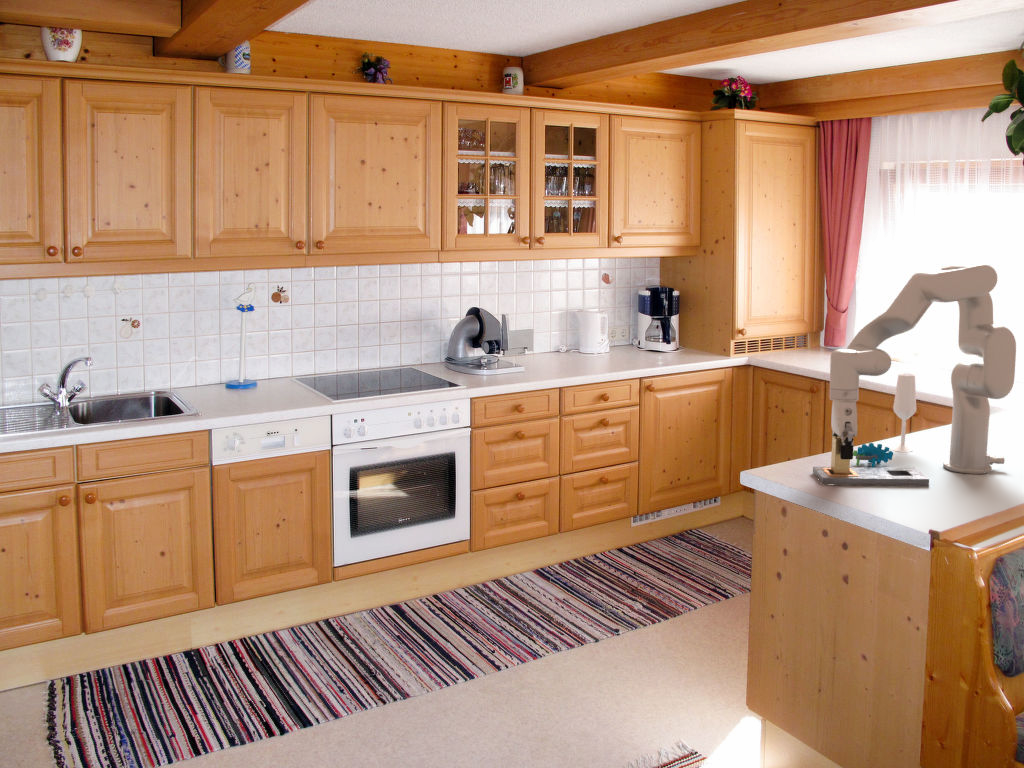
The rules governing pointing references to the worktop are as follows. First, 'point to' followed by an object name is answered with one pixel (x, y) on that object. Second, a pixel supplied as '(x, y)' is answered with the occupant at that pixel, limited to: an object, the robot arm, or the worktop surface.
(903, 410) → the champagne flute
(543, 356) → the worktop surface
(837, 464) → the peg
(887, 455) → the gear
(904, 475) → the rail plate
